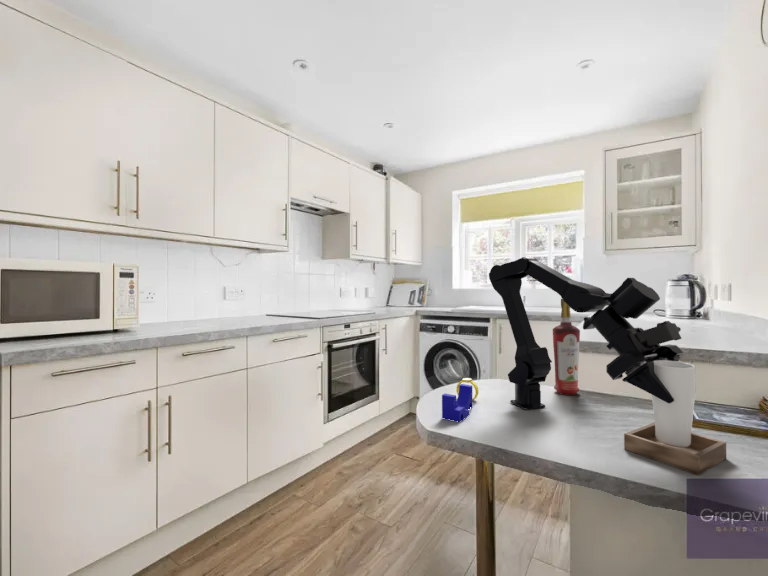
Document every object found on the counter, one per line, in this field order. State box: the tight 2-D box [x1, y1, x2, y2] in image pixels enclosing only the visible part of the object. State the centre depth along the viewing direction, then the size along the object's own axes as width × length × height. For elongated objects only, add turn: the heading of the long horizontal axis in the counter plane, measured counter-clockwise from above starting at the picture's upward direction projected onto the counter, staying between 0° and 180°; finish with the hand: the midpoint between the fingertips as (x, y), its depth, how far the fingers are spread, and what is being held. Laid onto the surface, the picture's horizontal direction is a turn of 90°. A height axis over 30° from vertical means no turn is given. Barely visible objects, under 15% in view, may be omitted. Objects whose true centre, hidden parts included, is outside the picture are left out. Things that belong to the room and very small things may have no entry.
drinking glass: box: [651, 360, 697, 448], centre depth 69 cm, size 7×7×15 cm
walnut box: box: [623, 421, 727, 476], centre depth 69 cm, size 12×12×3 cm
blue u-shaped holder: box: [441, 383, 473, 423], centre depth 92 cm, size 12×4×6 cm, turn 145°
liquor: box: [552, 298, 581, 396], centre depth 109 cm, size 7×7×28 cm
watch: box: [456, 377, 479, 401], centre depth 103 cm, size 6×3×6 cm, turn 57°
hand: (680, 399), depth 68 cm, fingers closed on drinking glass, 6 cm apart
